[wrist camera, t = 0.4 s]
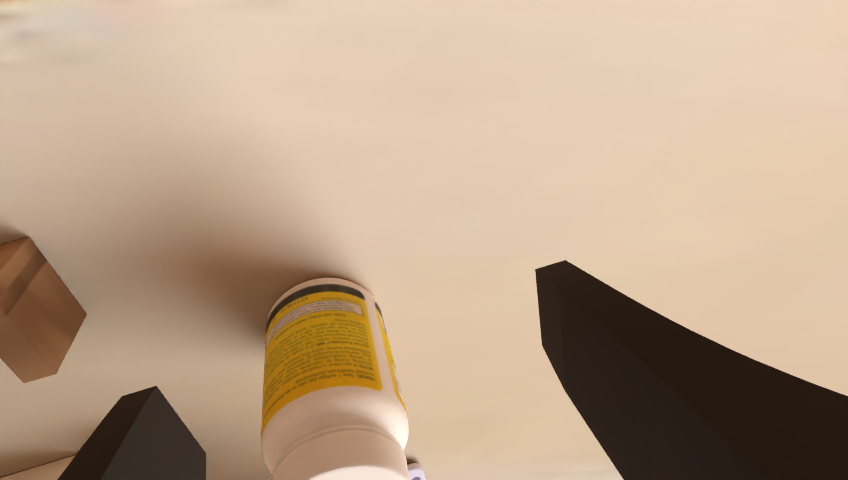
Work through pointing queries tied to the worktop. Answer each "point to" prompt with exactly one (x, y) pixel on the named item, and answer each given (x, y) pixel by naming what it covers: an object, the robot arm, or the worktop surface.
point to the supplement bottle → (331, 387)
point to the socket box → (35, 325)
